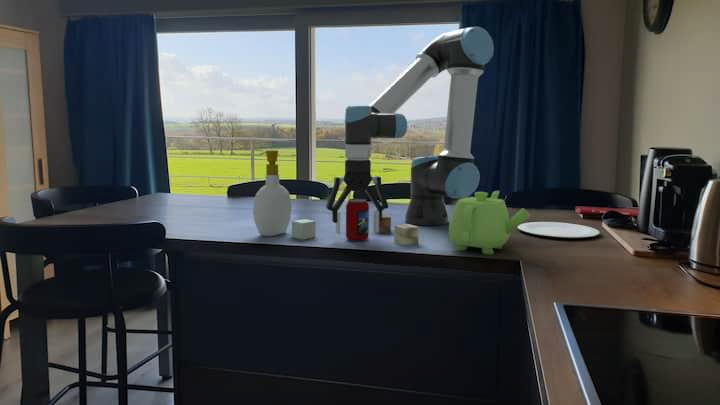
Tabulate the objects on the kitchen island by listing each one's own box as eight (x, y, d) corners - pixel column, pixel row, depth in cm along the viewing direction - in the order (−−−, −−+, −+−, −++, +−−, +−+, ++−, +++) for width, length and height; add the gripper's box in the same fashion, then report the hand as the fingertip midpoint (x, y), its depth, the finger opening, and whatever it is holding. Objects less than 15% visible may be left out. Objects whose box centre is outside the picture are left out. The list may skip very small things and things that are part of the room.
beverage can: (366, 242, 156) (366, 201, 154) (343, 241, 157) (343, 200, 156) (370, 237, 163) (370, 198, 161) (348, 236, 164) (348, 197, 162)
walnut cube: (388, 229, 176) (388, 214, 175) (390, 232, 171) (390, 217, 170) (373, 229, 175) (373, 214, 175) (375, 232, 171) (375, 217, 170)
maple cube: (408, 240, 160) (408, 224, 159) (418, 243, 156) (418, 226, 155) (394, 242, 157) (394, 225, 157) (403, 245, 153) (404, 228, 152)
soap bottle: (277, 228, 175) (276, 148, 171) (298, 232, 170) (297, 149, 166) (244, 236, 163) (243, 150, 159) (266, 240, 158) (264, 151, 154)
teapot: (516, 263, 134) (519, 200, 132) (436, 252, 145) (438, 194, 143) (540, 245, 155) (544, 190, 153) (469, 236, 166) (471, 185, 164)
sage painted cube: (305, 234, 166) (305, 219, 166) (315, 237, 163) (315, 221, 162) (292, 237, 163) (292, 220, 162) (302, 239, 160) (302, 223, 159)
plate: (600, 230, 179) (600, 225, 179) (598, 245, 157) (599, 239, 157) (523, 224, 190) (523, 219, 189) (511, 237, 167) (511, 231, 167)
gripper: (392, 157, 163) (391, 228, 166) (315, 158, 157) (316, 231, 160) (400, 159, 156) (398, 233, 159) (320, 160, 150) (320, 236, 153)
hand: (357, 232), depth 160 cm, fingers open, 11 cm apart
